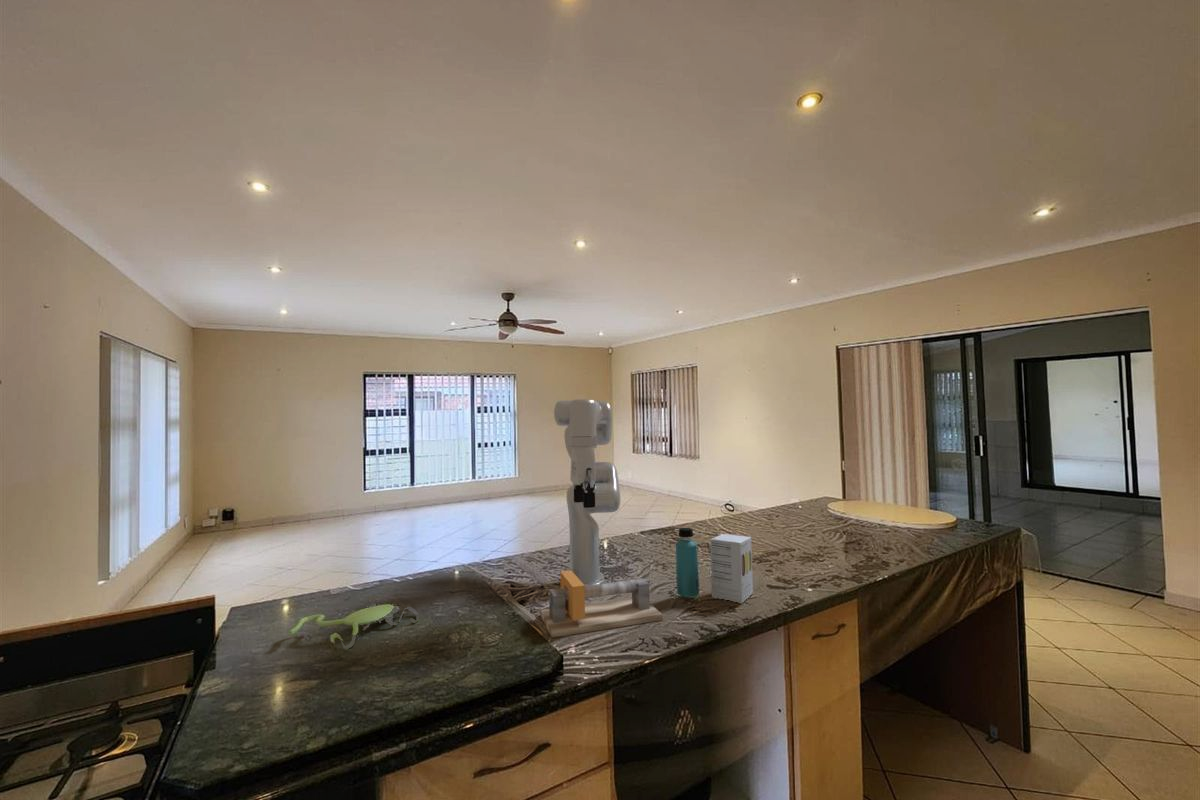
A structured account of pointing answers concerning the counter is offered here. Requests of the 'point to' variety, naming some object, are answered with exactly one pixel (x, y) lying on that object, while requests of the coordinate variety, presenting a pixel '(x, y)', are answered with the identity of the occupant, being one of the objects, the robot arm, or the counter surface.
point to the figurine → (348, 619)
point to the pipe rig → (601, 608)
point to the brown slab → (573, 595)
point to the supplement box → (731, 567)
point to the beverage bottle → (687, 565)
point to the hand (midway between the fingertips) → (584, 504)
